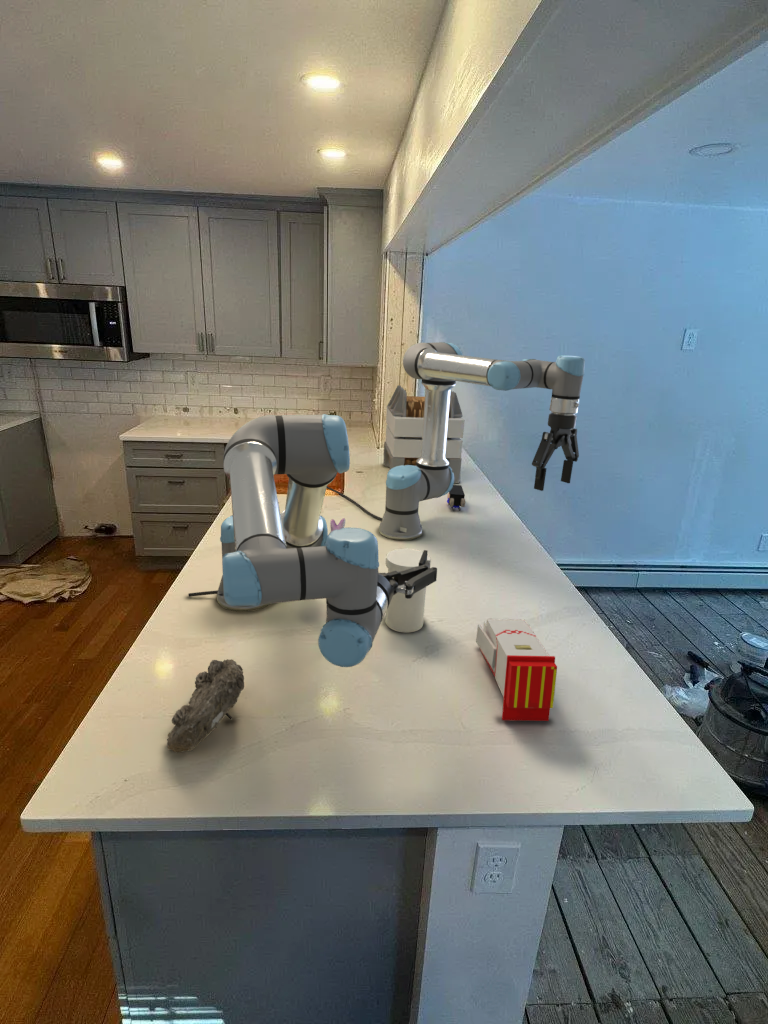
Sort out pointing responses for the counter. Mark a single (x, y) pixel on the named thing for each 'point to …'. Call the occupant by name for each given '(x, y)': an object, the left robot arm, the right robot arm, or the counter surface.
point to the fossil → (206, 705)
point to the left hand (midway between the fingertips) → (392, 552)
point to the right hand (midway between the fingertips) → (552, 485)
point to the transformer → (419, 431)
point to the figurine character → (456, 497)
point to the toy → (519, 668)
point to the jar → (406, 612)
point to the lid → (403, 559)
